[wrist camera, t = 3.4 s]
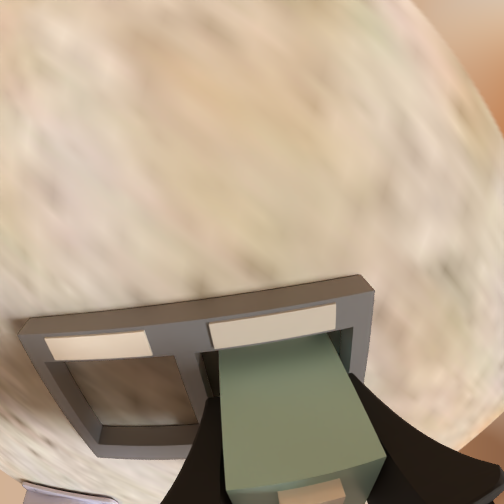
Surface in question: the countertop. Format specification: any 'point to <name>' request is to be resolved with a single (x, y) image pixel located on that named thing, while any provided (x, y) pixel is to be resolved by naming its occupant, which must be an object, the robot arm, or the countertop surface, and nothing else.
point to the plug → (294, 426)
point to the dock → (190, 349)
